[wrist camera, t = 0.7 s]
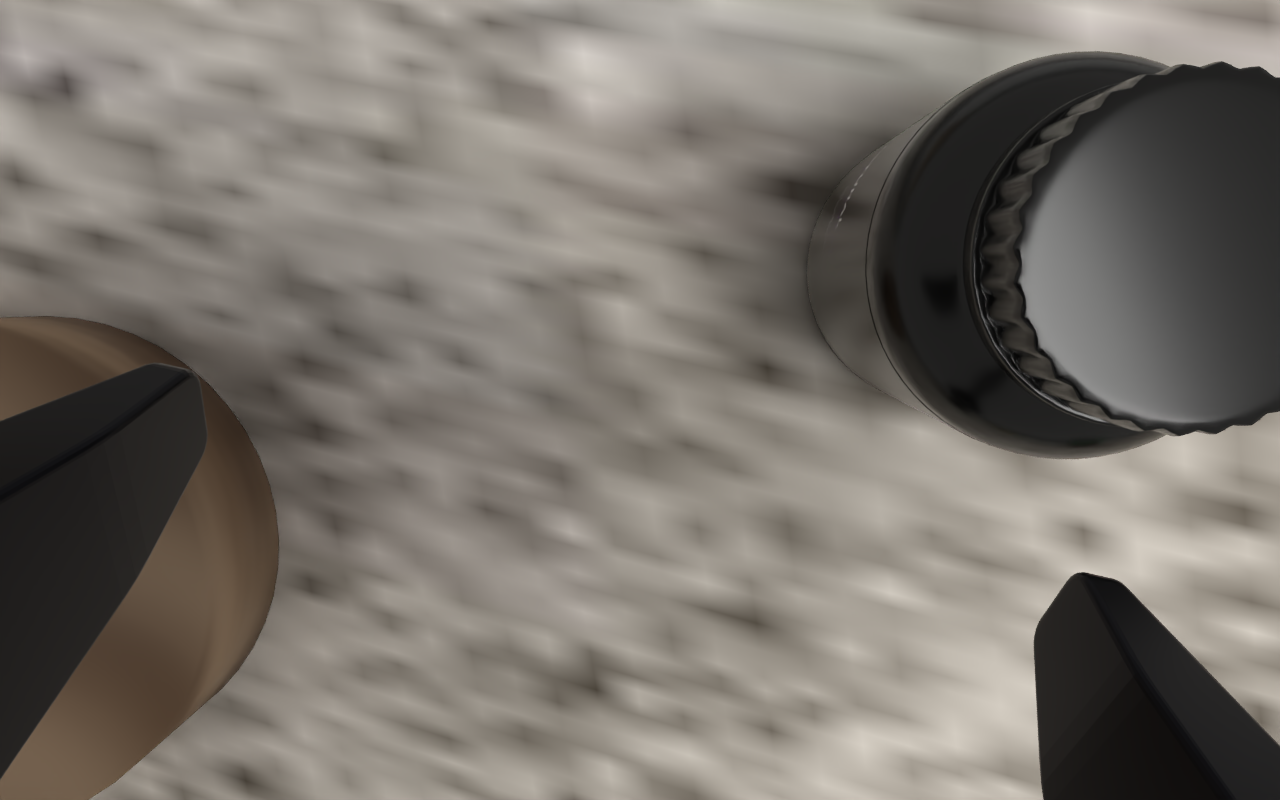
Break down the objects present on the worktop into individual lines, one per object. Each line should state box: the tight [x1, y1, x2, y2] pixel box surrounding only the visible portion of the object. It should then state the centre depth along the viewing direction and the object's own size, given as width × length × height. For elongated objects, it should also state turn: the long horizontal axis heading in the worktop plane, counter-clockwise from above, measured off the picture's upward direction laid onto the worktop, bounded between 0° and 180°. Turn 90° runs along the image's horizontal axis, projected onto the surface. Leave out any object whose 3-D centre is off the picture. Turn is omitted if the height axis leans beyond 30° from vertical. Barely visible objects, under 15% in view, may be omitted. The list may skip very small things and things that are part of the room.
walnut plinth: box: [0, 316, 279, 800], centre depth 23 cm, size 12×12×4 cm
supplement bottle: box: [807, 51, 1280, 459], centre depth 17 cm, size 7×7×12 cm
